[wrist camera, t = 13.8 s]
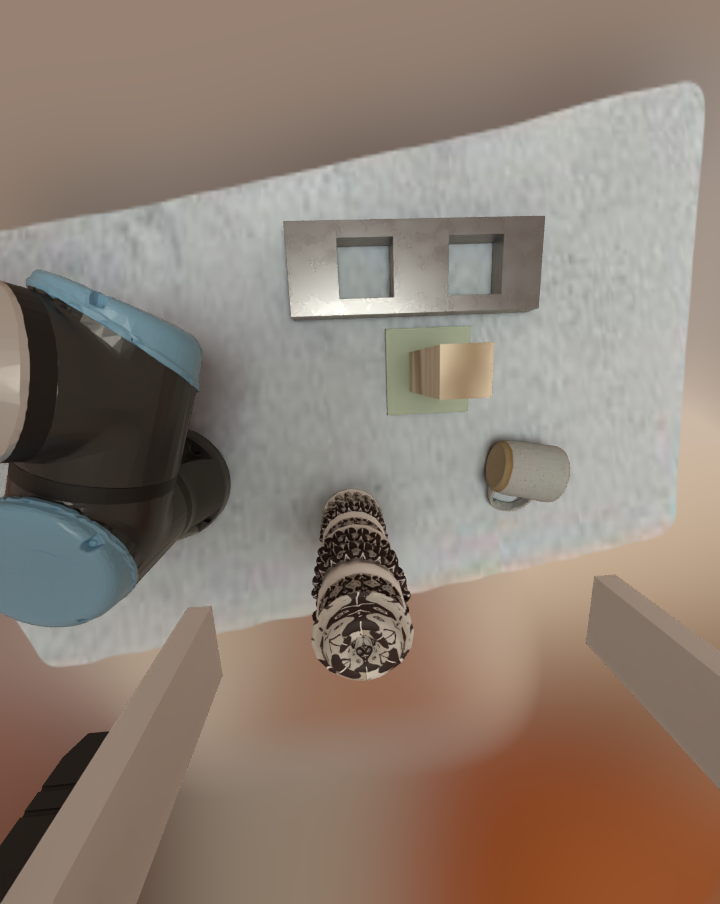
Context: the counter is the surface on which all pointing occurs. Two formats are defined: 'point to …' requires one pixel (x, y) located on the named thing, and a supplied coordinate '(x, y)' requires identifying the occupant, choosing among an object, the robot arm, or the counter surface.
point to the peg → (452, 371)
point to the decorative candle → (359, 591)
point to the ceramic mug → (526, 473)
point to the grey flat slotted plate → (414, 265)
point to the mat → (398, 368)
